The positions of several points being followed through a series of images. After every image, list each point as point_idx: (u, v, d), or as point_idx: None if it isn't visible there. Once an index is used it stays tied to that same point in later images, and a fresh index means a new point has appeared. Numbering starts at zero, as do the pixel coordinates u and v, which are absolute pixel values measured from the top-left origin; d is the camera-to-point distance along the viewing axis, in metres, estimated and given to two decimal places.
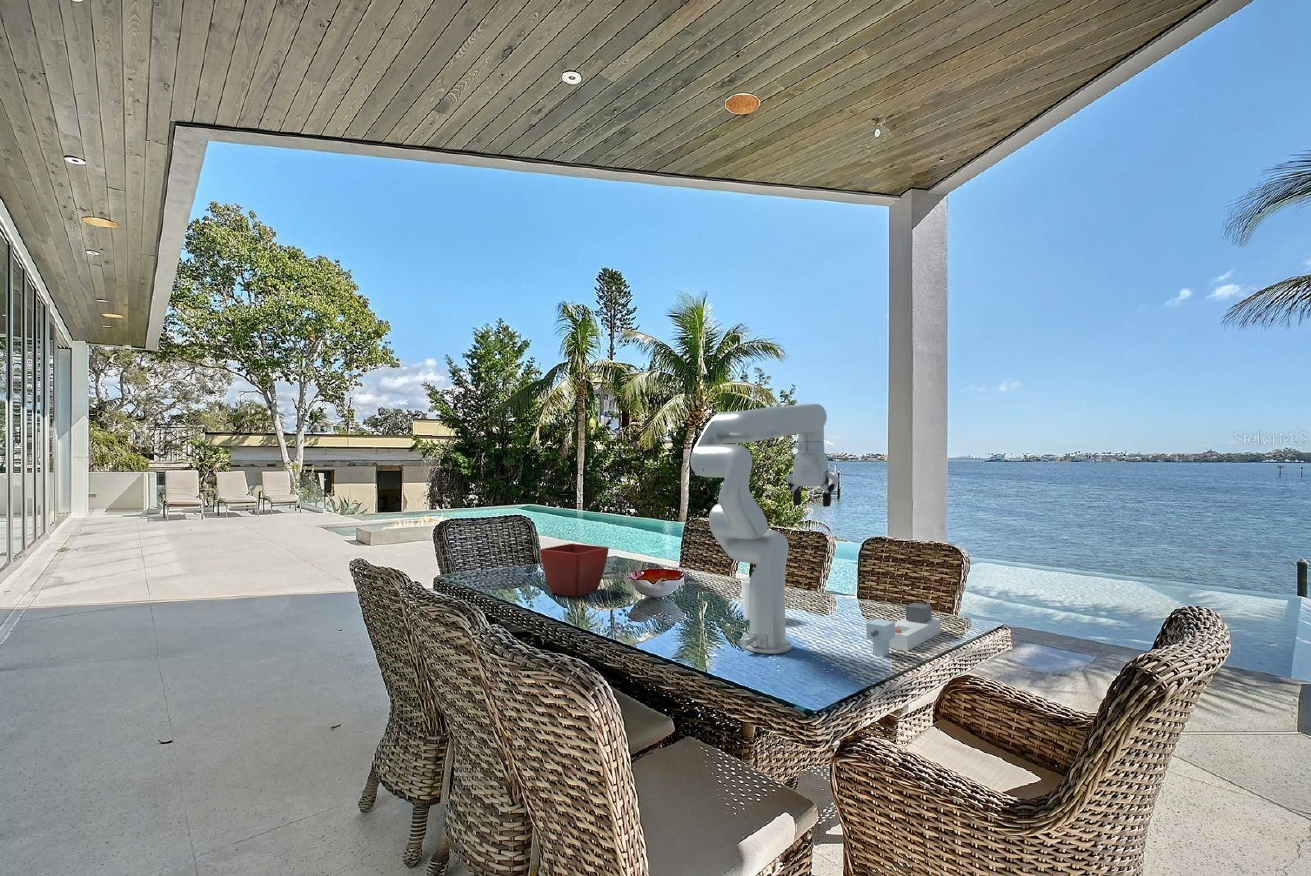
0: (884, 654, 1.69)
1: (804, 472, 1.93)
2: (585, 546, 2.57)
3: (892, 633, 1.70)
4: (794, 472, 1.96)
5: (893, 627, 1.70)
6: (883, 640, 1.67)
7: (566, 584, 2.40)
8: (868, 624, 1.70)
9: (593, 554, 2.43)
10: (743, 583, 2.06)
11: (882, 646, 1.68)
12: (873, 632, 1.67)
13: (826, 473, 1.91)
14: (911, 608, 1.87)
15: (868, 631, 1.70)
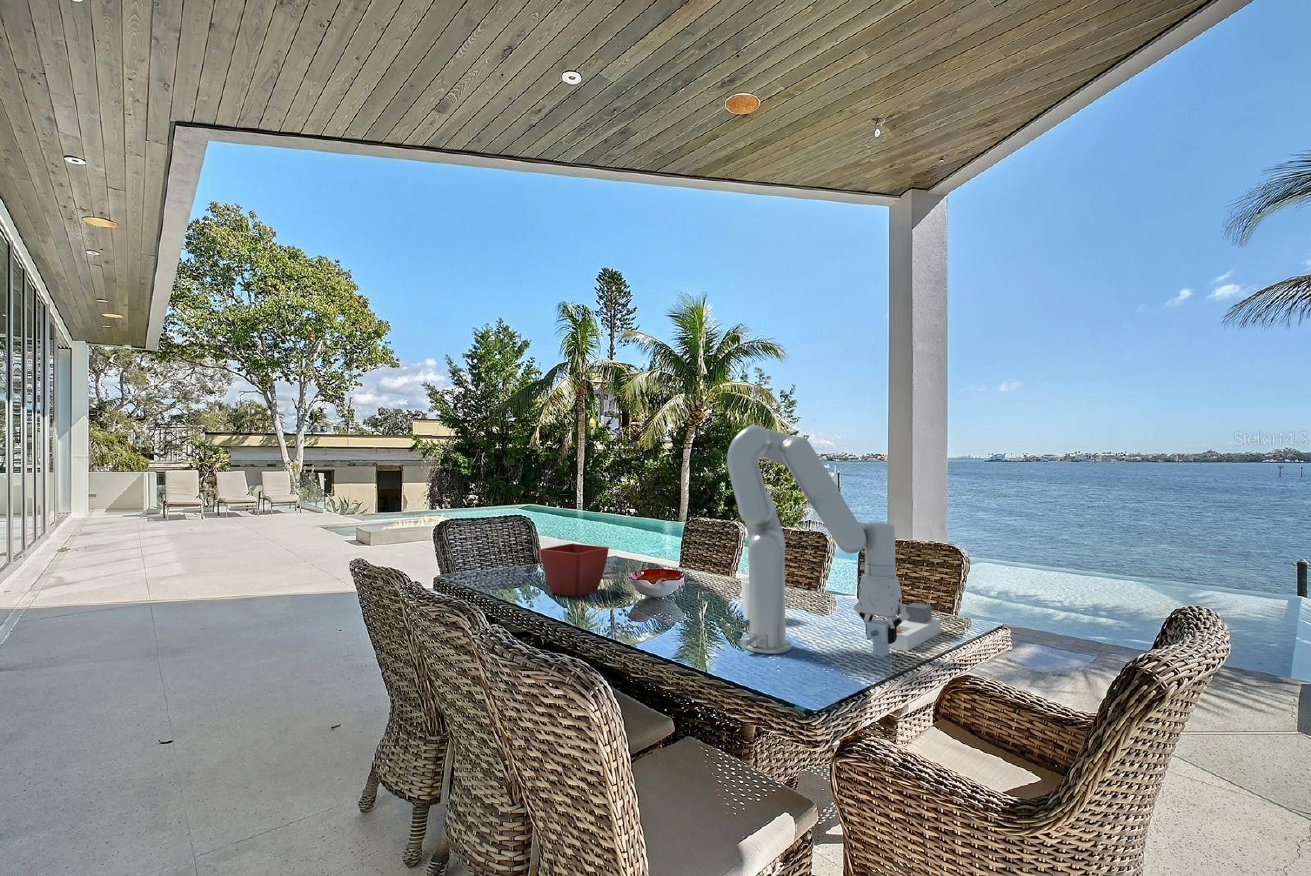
0: (884, 654, 1.69)
1: (873, 599, 1.69)
2: (585, 546, 2.57)
3: None
4: (860, 597, 1.72)
5: None
6: (883, 640, 1.67)
7: (566, 584, 2.40)
8: (868, 624, 1.70)
9: (593, 554, 2.43)
10: (743, 583, 2.06)
11: (882, 646, 1.68)
12: (873, 632, 1.67)
13: None
14: (911, 608, 1.87)
15: (868, 631, 1.70)
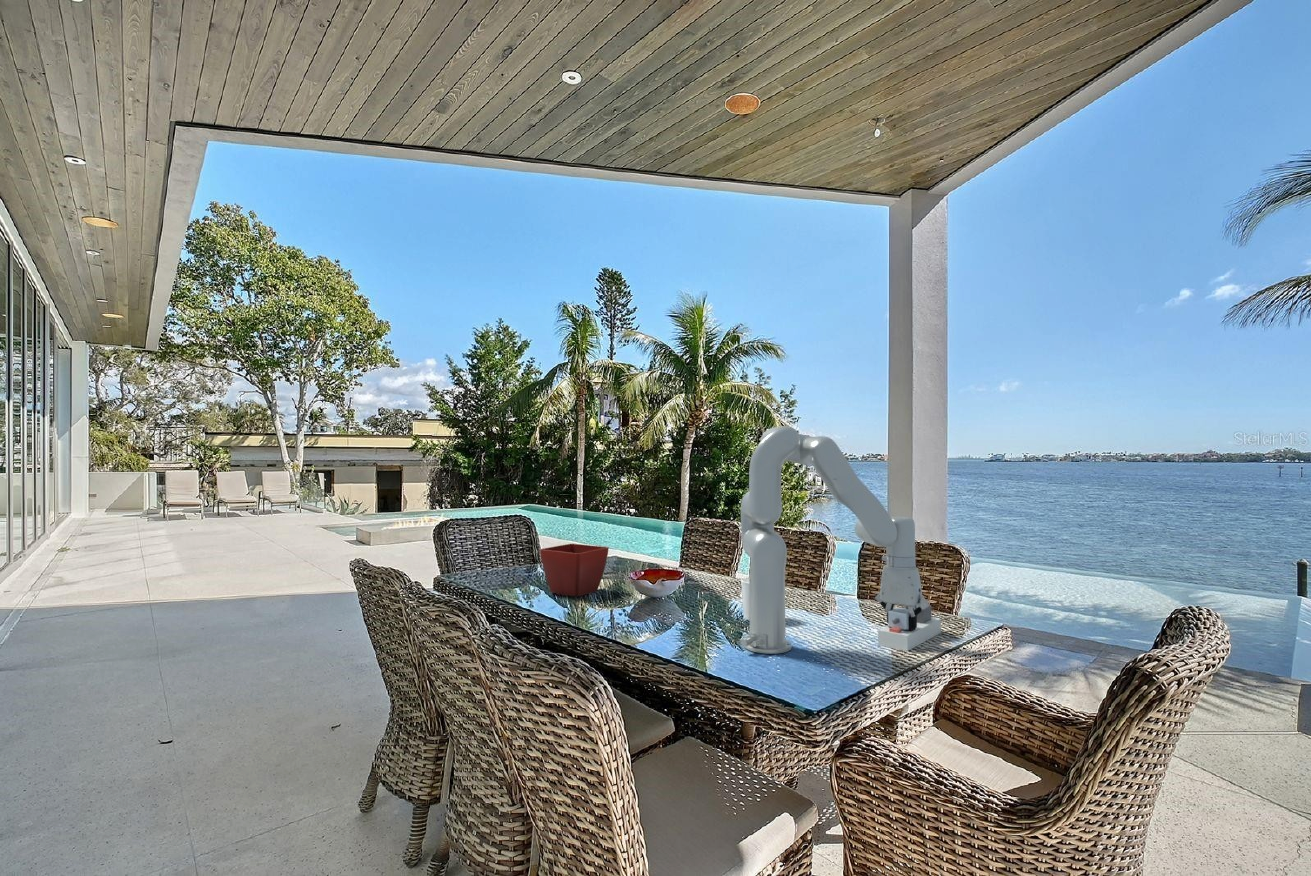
0: None
1: (894, 589, 1.79)
2: (585, 546, 2.57)
3: None
4: (882, 587, 1.81)
5: None
6: (904, 628, 1.76)
7: (566, 584, 2.40)
8: (890, 613, 1.79)
9: (593, 554, 2.43)
10: (743, 583, 2.06)
11: None
12: (895, 620, 1.77)
13: None
14: None
15: (890, 619, 1.79)
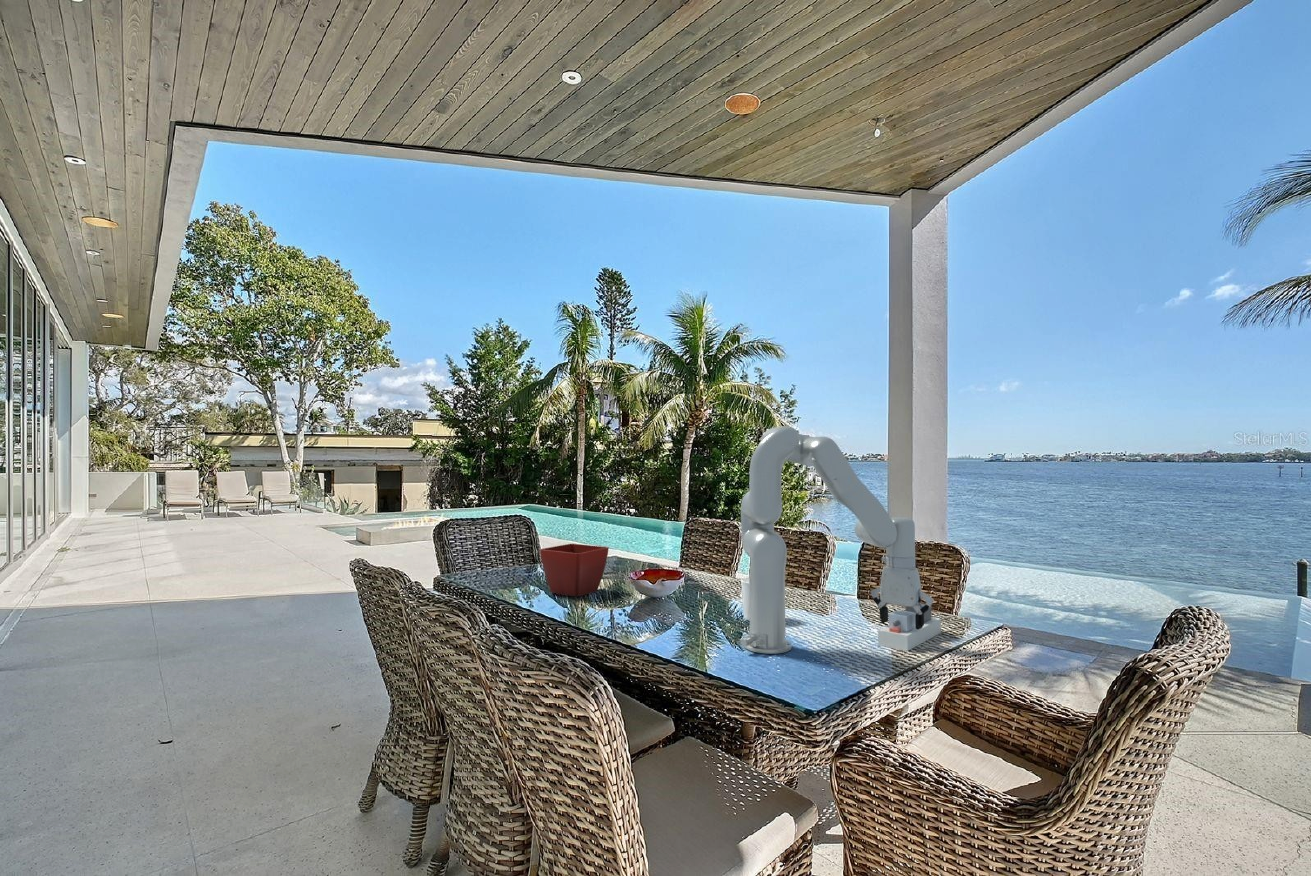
0: None
1: (894, 590, 1.79)
2: (585, 546, 2.57)
3: (913, 624, 1.79)
4: (882, 588, 1.81)
5: (914, 618, 1.80)
6: (905, 630, 1.76)
7: (566, 584, 2.40)
8: (890, 615, 1.79)
9: (593, 554, 2.43)
10: (743, 583, 2.06)
11: None
12: (895, 622, 1.77)
13: (919, 593, 1.76)
14: (911, 608, 1.87)
15: (890, 621, 1.79)
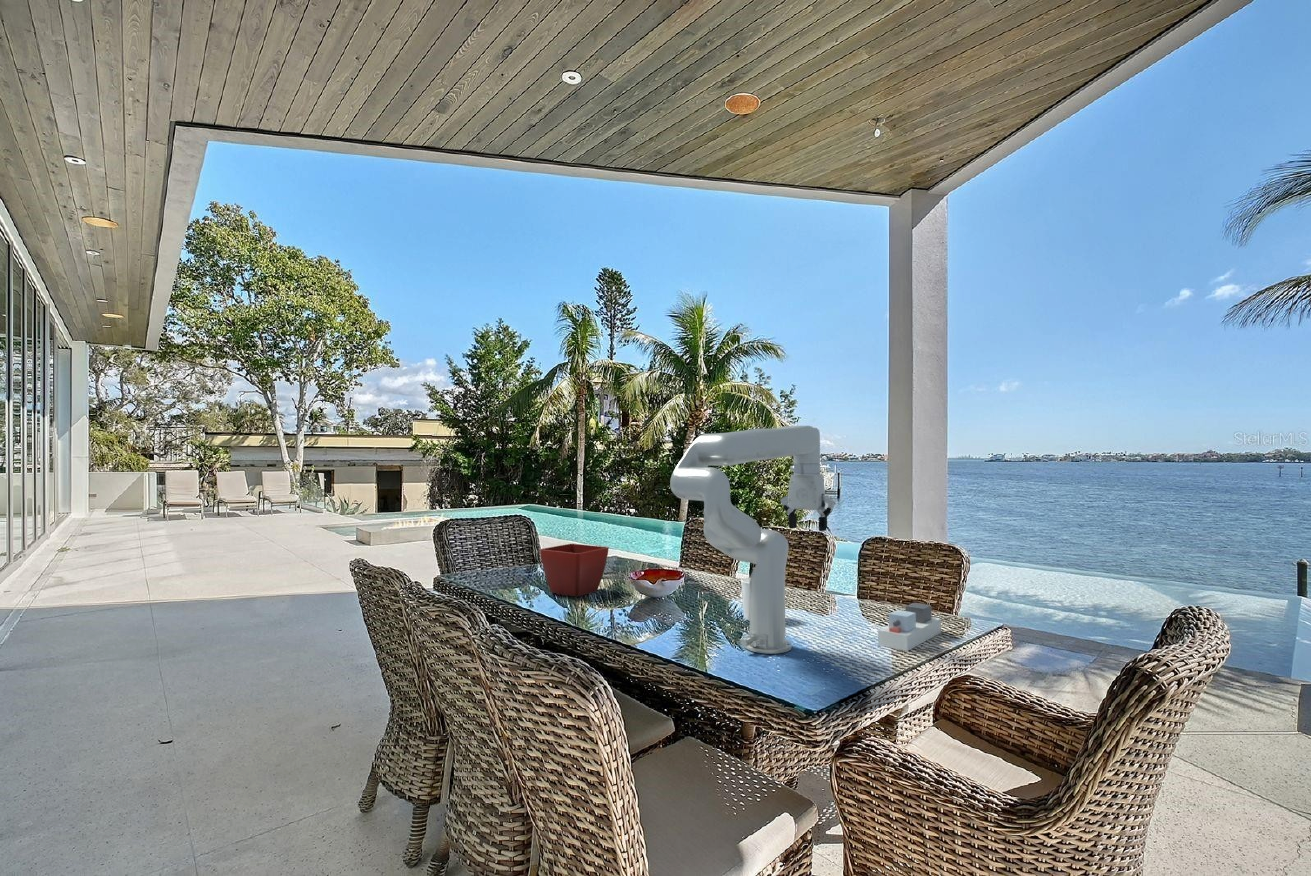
0: None
1: (799, 495, 1.88)
2: (585, 546, 2.57)
3: (913, 624, 1.79)
4: (789, 495, 1.90)
5: (914, 618, 1.80)
6: (905, 630, 1.76)
7: (566, 584, 2.40)
8: (890, 615, 1.79)
9: (593, 554, 2.43)
10: (743, 583, 2.06)
11: None
12: (895, 622, 1.77)
13: (822, 496, 1.85)
14: (911, 608, 1.87)
15: (890, 621, 1.79)
